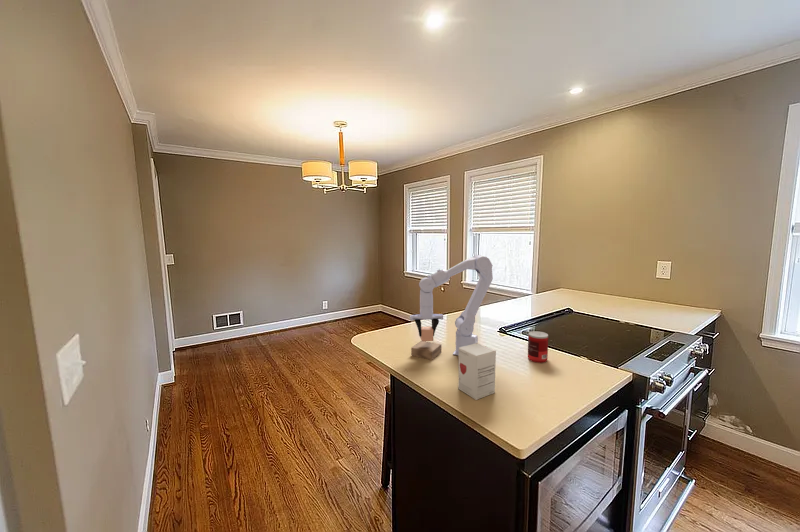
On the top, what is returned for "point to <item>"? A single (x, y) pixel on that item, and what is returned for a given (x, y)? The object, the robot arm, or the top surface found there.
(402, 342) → the top surface
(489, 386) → the supplement box
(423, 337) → the terracotta cube
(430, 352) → the walnut block
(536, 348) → the canned food
